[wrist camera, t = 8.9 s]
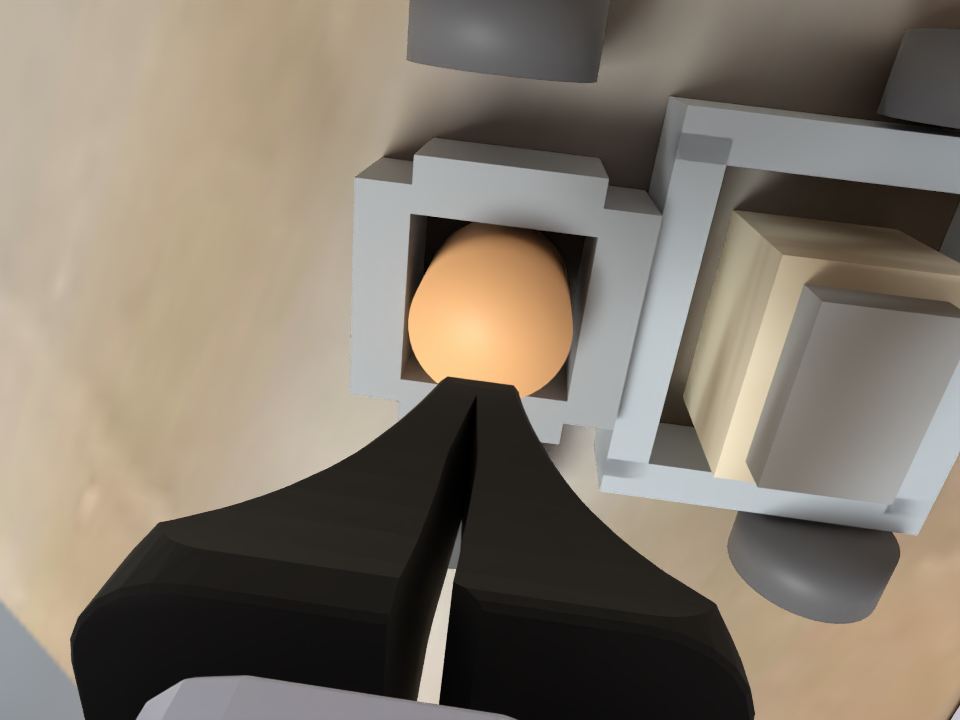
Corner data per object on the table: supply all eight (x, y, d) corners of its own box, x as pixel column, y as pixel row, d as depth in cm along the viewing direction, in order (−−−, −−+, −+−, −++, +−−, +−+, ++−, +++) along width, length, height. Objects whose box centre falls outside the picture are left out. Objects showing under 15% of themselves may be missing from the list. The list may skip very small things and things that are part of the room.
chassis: (1075, 52, 16) (1245, 57, 12) (857, 533, 23) (922, 636, 19) (388, -28, 17) (341, -47, 13) (369, 465, 23) (334, 552, 19)
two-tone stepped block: (895, 228, 19) (1023, 297, 14) (824, 414, 21) (909, 528, 16) (732, 208, 19) (799, 270, 14) (682, 395, 21) (724, 503, 16)
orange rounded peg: (578, 221, 19) (586, 262, 15) (556, 349, 20) (558, 412, 17) (437, 203, 19) (413, 240, 15) (426, 332, 21) (403, 391, 17)
